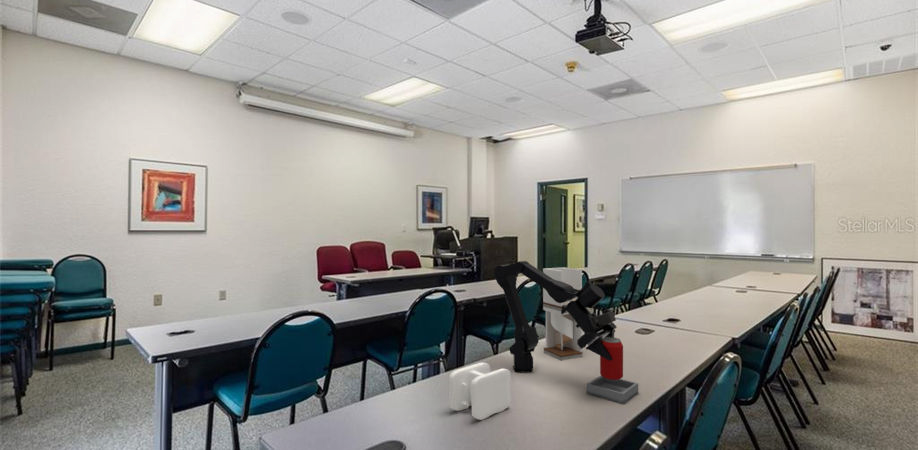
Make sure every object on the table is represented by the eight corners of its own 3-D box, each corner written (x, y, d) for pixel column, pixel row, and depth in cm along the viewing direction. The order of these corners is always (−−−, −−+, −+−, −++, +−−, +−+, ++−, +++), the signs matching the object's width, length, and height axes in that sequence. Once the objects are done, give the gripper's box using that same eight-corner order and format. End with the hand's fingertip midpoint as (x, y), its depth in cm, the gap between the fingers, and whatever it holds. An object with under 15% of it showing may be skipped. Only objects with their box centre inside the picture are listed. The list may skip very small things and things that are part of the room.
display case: (543, 352, 173) (543, 268, 173) (564, 349, 178) (563, 267, 178) (561, 360, 163) (560, 271, 163) (582, 356, 167) (581, 269, 168)
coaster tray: (586, 393, 130) (586, 384, 130) (602, 383, 138) (602, 374, 138) (623, 404, 122) (623, 394, 122) (638, 392, 130) (638, 383, 130)
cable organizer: (473, 425, 110) (473, 381, 110) (447, 412, 118) (447, 370, 118) (511, 408, 120) (511, 368, 120) (485, 397, 127) (484, 359, 128)
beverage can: (618, 373, 134) (618, 336, 134) (626, 381, 127) (626, 342, 127) (597, 373, 134) (597, 336, 134) (604, 381, 127) (604, 342, 127)
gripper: (586, 305, 126) (623, 349, 119) (610, 297, 140) (644, 336, 133) (562, 327, 131) (596, 370, 124) (588, 317, 145) (620, 356, 138)
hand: (615, 357), depth 129 cm, fingers closed on beverage can, 7 cm apart
